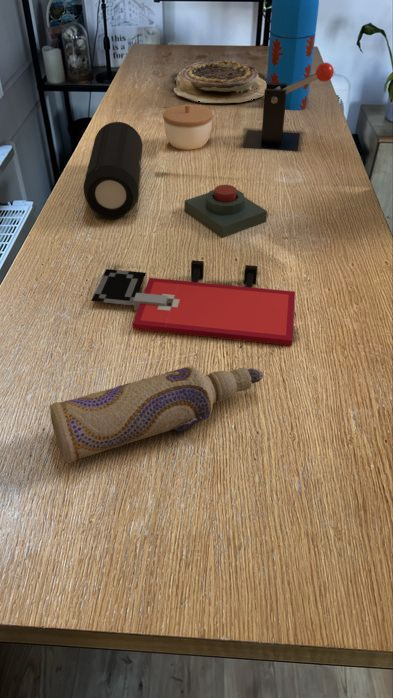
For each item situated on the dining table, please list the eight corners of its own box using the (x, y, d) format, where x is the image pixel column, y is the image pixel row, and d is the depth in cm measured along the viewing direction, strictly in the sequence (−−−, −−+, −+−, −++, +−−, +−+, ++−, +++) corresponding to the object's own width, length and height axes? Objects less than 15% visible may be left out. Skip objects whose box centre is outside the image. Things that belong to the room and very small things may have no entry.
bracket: (299, 139, 136) (305, 80, 127) (296, 156, 129) (303, 96, 120) (247, 135, 138) (250, 78, 129) (242, 153, 130) (245, 93, 122)
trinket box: (167, 159, 128) (165, 115, 122) (162, 140, 136) (160, 98, 130) (216, 155, 129) (216, 112, 123) (207, 137, 137) (207, 95, 131)
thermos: (256, 105, 153) (263, -6, 136) (283, 95, 158) (293, -12, 142) (288, 115, 147) (299, 1, 130) (315, 105, 152) (329, -6, 136)
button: (240, 199, 106) (241, 190, 105) (222, 205, 104) (223, 196, 103) (227, 191, 109) (227, 182, 107) (209, 197, 107) (209, 188, 106)
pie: (233, 67, 177) (234, 49, 174) (290, 92, 160) (292, 73, 157) (151, 83, 166) (150, 65, 163) (203, 112, 149) (203, 92, 146)
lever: (336, 73, 122) (330, 57, 121) (336, 79, 120) (330, 62, 118) (273, 103, 129) (266, 87, 127) (272, 109, 126) (265, 93, 124)
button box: (266, 221, 107) (268, 201, 105) (222, 238, 103) (222, 217, 100) (227, 196, 115) (227, 177, 112) (184, 211, 110) (183, 191, 108)
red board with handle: (109, 267, 96) (82, 325, 85) (108, 252, 94) (79, 310, 83) (294, 284, 92) (291, 348, 81) (297, 269, 90) (293, 332, 80)
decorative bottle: (67, 479, 65) (57, 439, 60) (53, 431, 70) (43, 391, 66) (275, 412, 72) (280, 373, 68) (249, 373, 77) (251, 334, 73)
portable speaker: (140, 223, 107) (135, 170, 101) (85, 224, 107) (77, 172, 100) (144, 163, 126) (141, 116, 120) (98, 164, 126) (92, 117, 120)
